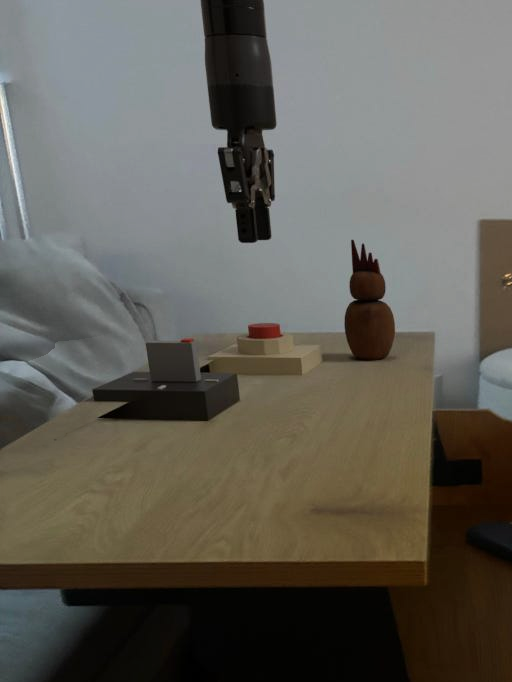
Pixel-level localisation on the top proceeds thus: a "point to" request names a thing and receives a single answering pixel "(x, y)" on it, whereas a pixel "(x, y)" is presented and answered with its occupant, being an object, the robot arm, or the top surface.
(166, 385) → the panel
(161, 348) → the gray flat block
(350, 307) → the wooden figurine
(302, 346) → the stop box
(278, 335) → the stop button
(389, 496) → the top surface
